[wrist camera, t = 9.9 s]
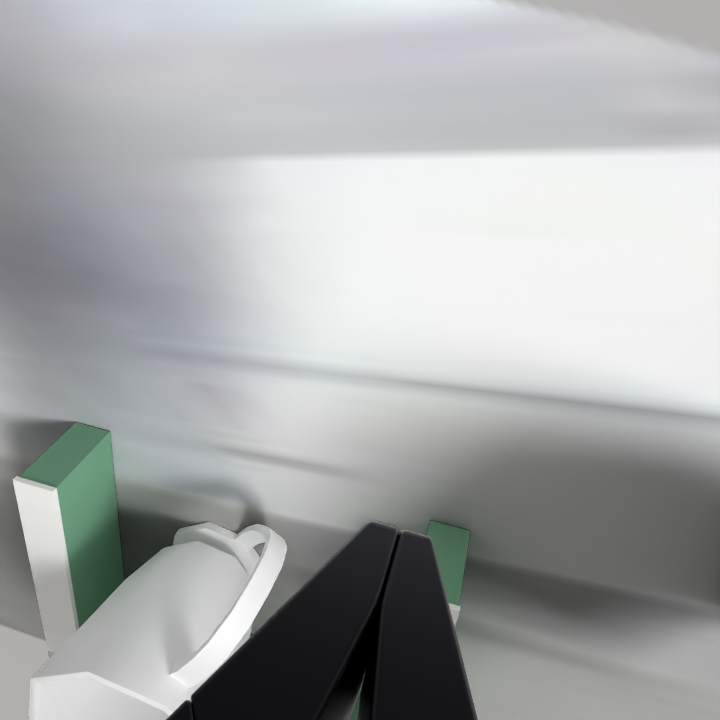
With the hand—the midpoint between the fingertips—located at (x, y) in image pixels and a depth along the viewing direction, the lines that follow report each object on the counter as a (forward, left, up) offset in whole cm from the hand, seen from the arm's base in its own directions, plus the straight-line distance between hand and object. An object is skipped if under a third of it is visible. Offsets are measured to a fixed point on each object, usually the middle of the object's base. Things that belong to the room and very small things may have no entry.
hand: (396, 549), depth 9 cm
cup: (+7, +15, -12) cm, 21 cm away
